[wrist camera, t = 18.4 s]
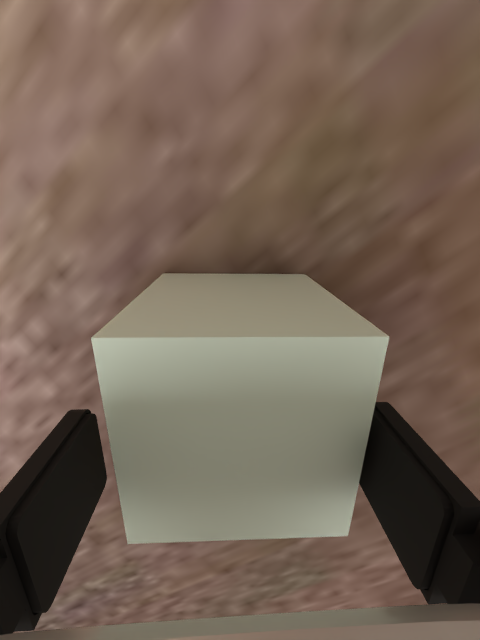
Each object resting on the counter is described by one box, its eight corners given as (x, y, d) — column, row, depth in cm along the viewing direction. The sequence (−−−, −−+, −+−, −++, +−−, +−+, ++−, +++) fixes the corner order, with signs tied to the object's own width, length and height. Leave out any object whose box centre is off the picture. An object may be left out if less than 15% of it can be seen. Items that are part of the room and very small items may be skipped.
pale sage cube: (293, 393, 19) (347, 535, 10) (172, 395, 18) (127, 543, 10) (305, 274, 16) (389, 336, 8) (163, 273, 16) (91, 338, 7)
